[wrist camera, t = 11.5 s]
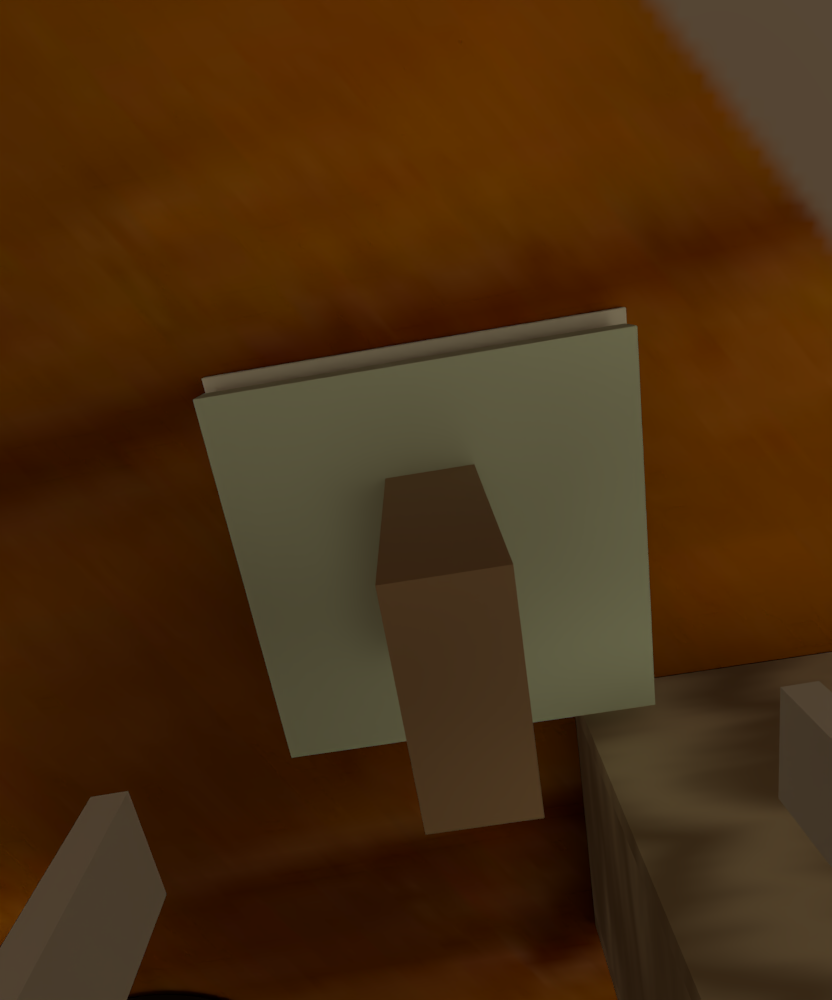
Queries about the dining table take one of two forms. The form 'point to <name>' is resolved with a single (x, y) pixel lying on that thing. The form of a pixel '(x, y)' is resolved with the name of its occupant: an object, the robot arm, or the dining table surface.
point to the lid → (445, 555)
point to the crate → (705, 842)
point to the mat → (415, 349)
